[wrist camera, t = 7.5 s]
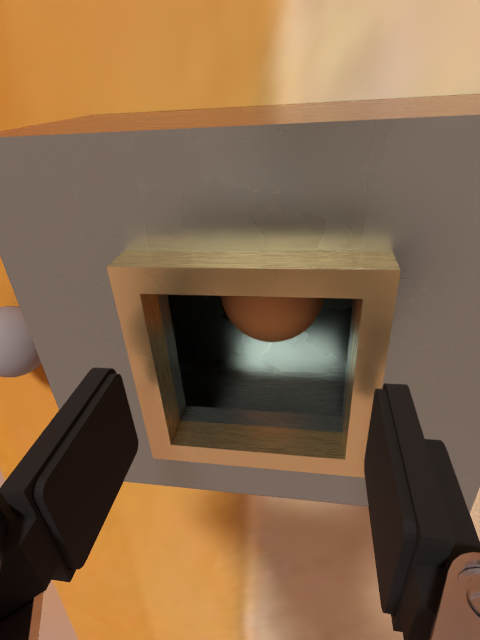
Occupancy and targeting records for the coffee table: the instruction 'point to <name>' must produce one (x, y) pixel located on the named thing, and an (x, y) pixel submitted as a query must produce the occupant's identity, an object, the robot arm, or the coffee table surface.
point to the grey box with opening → (257, 280)
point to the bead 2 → (271, 315)
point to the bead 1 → (16, 344)
